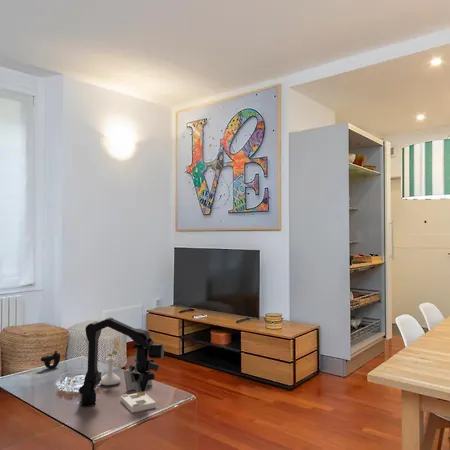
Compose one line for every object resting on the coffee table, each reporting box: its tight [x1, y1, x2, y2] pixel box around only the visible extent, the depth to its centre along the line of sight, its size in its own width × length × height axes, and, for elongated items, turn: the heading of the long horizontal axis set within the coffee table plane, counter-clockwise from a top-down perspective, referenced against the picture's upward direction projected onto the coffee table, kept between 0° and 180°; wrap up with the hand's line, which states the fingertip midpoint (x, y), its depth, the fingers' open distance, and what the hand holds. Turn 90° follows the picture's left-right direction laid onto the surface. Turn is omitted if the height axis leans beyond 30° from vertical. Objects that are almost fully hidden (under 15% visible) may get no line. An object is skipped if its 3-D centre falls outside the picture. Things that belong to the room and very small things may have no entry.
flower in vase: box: [100, 337, 123, 386], centre depth 236 cm, size 13×11×25 cm
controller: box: [40, 350, 62, 370], centre depth 260 cm, size 4×12×10 cm, turn 145°
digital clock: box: [123, 368, 153, 392], centre depth 231 cm, size 16×9×11 cm, turn 122°
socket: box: [120, 392, 157, 413], centre depth 206 cm, size 12×16×3 cm
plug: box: [134, 380, 149, 397], centre depth 203 cm, size 5×5×7 cm
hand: (141, 389), depth 203 cm, fingers closed on plug, 5 cm apart
